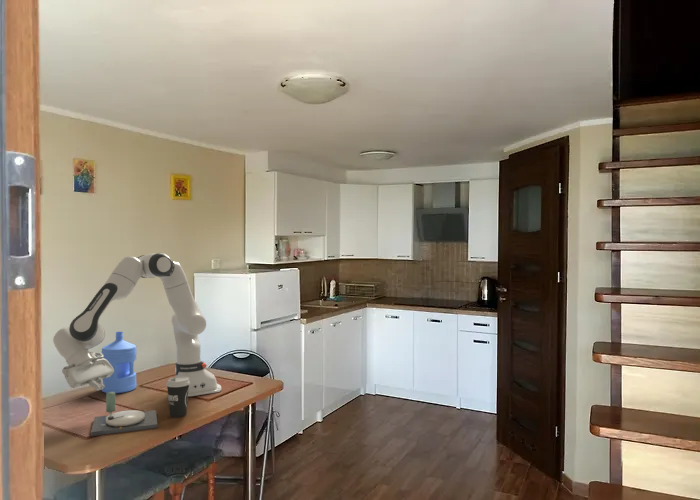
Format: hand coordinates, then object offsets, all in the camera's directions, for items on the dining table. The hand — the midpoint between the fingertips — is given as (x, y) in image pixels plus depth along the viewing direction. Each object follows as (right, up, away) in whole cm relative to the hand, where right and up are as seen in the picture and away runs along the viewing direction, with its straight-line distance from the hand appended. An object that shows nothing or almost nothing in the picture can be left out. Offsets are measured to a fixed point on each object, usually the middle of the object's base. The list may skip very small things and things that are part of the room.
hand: (101, 388), depth 204 cm
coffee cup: (+28, -14, +9) cm, 32 cm away
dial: (+11, -12, -2) cm, 16 cm away
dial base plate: (+11, -13, -2) cm, 17 cm away
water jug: (-14, -13, +46) cm, 50 cm away
